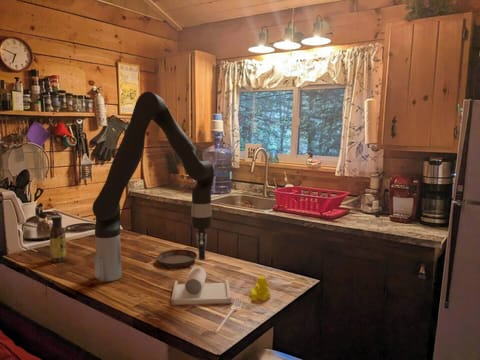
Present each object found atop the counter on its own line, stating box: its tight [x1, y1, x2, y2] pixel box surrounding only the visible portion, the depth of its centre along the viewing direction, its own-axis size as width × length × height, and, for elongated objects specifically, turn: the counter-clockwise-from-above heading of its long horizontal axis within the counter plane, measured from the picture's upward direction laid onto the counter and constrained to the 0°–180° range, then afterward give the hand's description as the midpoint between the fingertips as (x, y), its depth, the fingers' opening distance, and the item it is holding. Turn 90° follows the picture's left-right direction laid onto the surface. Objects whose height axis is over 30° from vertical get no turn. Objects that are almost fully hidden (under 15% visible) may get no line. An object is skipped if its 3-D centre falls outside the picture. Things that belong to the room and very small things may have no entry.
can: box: [184, 266, 207, 294], centre depth 140 cm, size 6×6×12 cm
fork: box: [215, 297, 244, 332], centre depth 121 cm, size 3×20×2 cm, turn 160°
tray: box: [170, 279, 232, 306], centre depth 137 cm, size 16×20×2 cm
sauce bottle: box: [49, 215, 67, 263], centre depth 169 cm, size 6×6×20 cm
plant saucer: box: [156, 248, 198, 268], centre depth 170 cm, size 18×18×3 cm
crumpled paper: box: [249, 274, 271, 302], centre depth 135 cm, size 6×8×8 cm
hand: (201, 259), depth 145 cm, fingers closed
